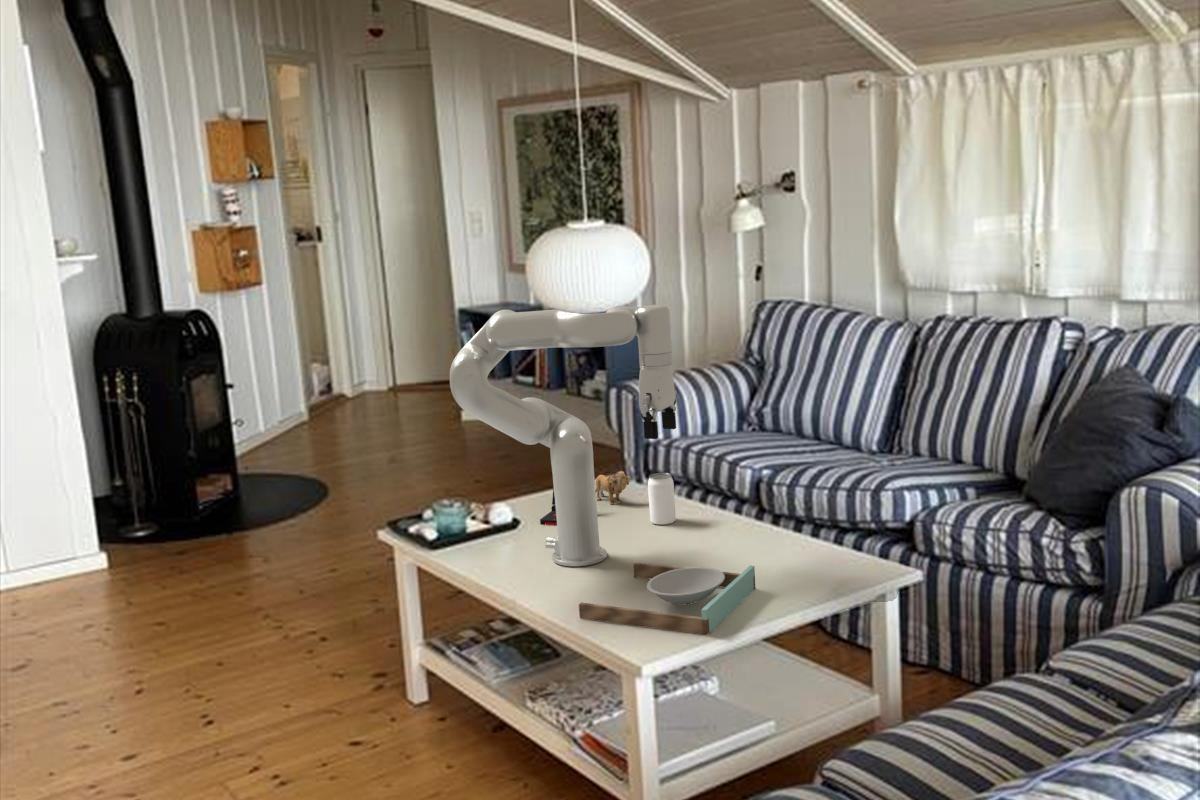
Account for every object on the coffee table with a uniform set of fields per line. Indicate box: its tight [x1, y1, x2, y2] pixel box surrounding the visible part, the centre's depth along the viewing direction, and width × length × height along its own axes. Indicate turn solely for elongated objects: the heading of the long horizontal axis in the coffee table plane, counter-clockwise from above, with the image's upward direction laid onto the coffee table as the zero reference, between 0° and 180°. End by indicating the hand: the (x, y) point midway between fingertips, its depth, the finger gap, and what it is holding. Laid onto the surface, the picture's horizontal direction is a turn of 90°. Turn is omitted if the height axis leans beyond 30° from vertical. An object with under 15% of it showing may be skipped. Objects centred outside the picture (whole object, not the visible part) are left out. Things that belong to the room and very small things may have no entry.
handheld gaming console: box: [539, 486, 557, 526], centre depth 314 cm, size 9×12×10 cm
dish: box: [646, 566, 725, 606], centre depth 249 cm, size 18×14×5 cm
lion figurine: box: [595, 470, 631, 506], centre depth 327 cm, size 15×5×9 cm, turn 42°
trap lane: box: [578, 562, 756, 635], centre depth 250 cm, size 28×26×5 cm
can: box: [647, 472, 677, 526], centre depth 305 cm, size 6×6×12 cm
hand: (660, 433), depth 277 cm, fingers open, 9 cm apart
